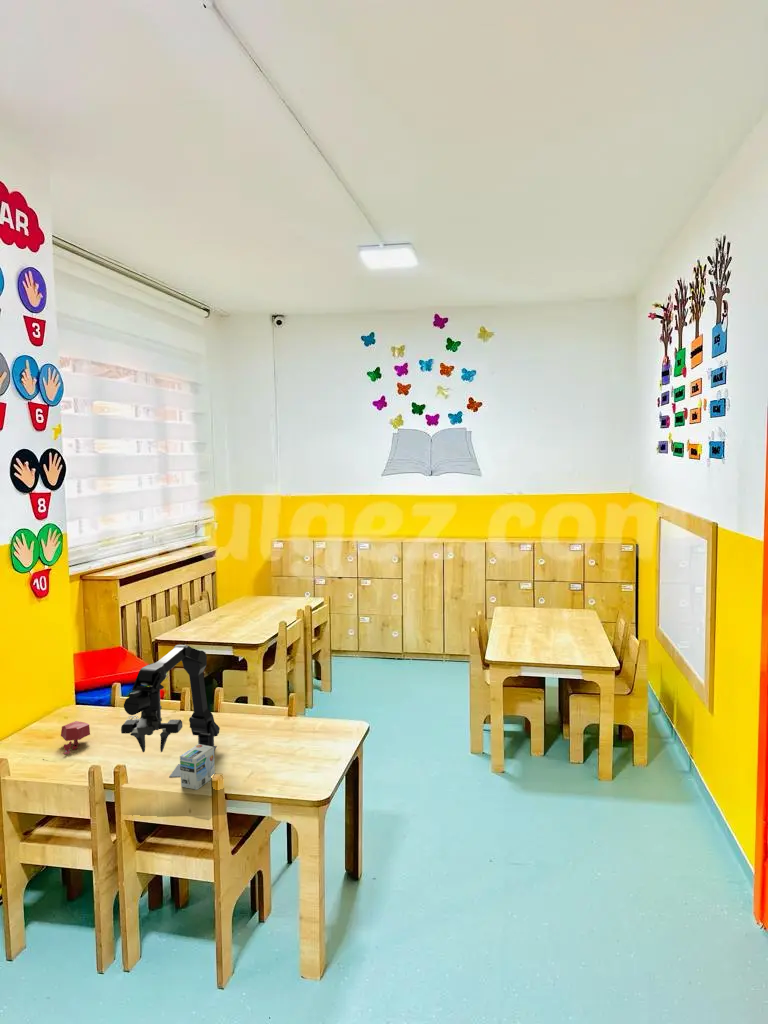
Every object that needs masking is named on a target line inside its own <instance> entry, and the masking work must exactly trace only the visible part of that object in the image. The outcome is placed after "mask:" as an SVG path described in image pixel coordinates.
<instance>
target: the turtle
mask: <svg viewBox="0 0 768 1024" xmlns="http://www.w3.org/2000/svg"><path fill="white" fill-rule="evenodd" d="M60 730H61V732H60V737H62V739H64V741H66V742H68V744H66V743H65V744H63V748H64V750H65V751H64V752H63V755H65V754H68V755H70V754H69V753H70V752H71V750H74V751H75V750H76V749H78V746H79V745H78V744H79V741H80V740H82V739H84V738H85V737H88V736H90V735H91V730H90V724H89V723H87V722H83V721H78V720H74V721H72V722H70V723H67V724H65V725H63V726H61V729H60ZM72 741H73V743H72ZM75 745H77V746H75ZM70 749H71V750H70Z"/></svg>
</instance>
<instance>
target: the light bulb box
mask: <svg viewBox="0 0 768 1024" xmlns="http://www.w3.org/2000/svg"><path fill="white" fill-rule="evenodd" d="M179 764H180V771H181V777H180V787H181V788H187V789H191V790H195V791H198V790H199V789H200V788H201V787H203V786H204V785H206V784H207V783H209V782H210V781H211V780H212V779H211V776H212V775H213V774H215V775H216V773H215V772H216V769H215V768H216V767H215V751H214V747H212V746H206V745H201V744H198V743H197V744H196V745H195V746H193V747H192V748H190V749H188V750H187V751H185V752H184V753H183V754H181V755H179ZM210 779H211V780H210Z"/></svg>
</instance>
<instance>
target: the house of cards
mask: <svg viewBox="0 0 768 1024" xmlns="http://www.w3.org/2000/svg"><path fill="white" fill-rule="evenodd" d="M140 718H141V717H139V715H129V716H128V717H127V718H126V719H125V721H124V723H125V722H126V721H127V720H138V721H139V720H140Z"/></svg>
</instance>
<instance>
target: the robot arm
mask: <svg viewBox="0 0 768 1024" xmlns="http://www.w3.org/2000/svg"><path fill="white" fill-rule="evenodd" d="M207 659H208V656H207V653H206V652H205V651H204V650H200V649H197V648H194V647H191V646H189V645H188V644H176V645H175V646H174V647H173V648H172V649H171V650H170V651H168V653H167V654H165V655H164V656H162V657H161V658H160V659H159V660H158V661H156V662H154V663H151V664H147V665H145V666H143V667H141V668H140V669H139V671H138V674H137V676H136V678H135V681H134V684H133V686H132V689H131V690H132V692H130V693H128V697H127V698H126V699H125V700H124V702H123V708H124V711H125V712H126V714H128V715H129V716H136V714H139V713H140V712H141V713H140V717H139V718H140V720H139V721H138V720H134V719H132V720H130V719H126V720H127V721H126V720H125V721H126V722H125V721H124V723H123V724H122V725H121V728H120V732H121V734H125V735H127V734H130V736H132V737H134V738H135V739H136V740H137V743H138V745H139V746H140V749H141V752H142V753H146V736H151V735H154V734H153V733H154V732H156V731H159V730H161V733H160V734H159V735H160V744H159V745H160V747H159V748H160V753H162V752H163V751H164V748H165V745H166V742H167V741H168V740H167V739H168V738H169V736H170V735H171V734H178V733H180V731H181V730H182V728H183V721H182V720H181V719H170V720H168V722H162V721H163V718H162V717H161V716H162V715H161V714H162V713H161V710H162V705H161V690H163V689H164V688H165V686H164V685H162V683H163V682H164V681H165V679H167V678H166V676H167V674H168V672H169V671H170V670H171V671H172V669H173V668H174V667H175V666H177V665H178V664H179V663H181V662H182V666H183V669H184V671H185V672H186V673H187V674H188V676H189V684H190V692H191V700H192V707H193V712H192V714H191V716H190V717H189V719H188V722H189V728H190V730H191V733H192V736H197V740H198V741H197V744H201V745H206V746H212V747H214V752H215V751H216V748H217V747H218V746H217V745H215V737H218V736H219V734H220V729H221V727H220V726H219V725H218V724H217V723H216V722H215V718H214V715H213V713H212V712H211V710H210V709H209V708H208V701H207V694H206V693H207V692H206V684H205V679H204V678H205V677H204V672H205V669H206V667H207V664H208V663H207Z"/></svg>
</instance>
